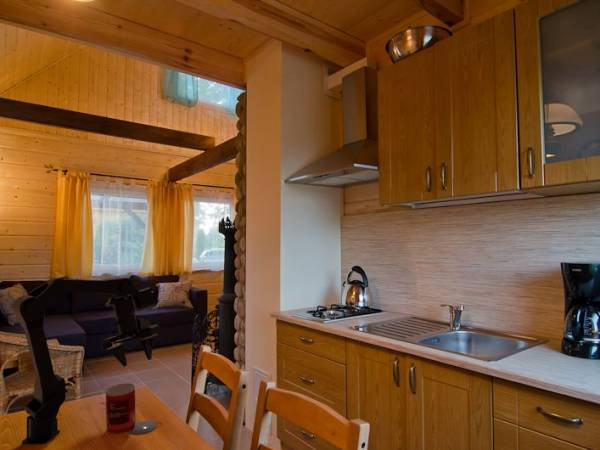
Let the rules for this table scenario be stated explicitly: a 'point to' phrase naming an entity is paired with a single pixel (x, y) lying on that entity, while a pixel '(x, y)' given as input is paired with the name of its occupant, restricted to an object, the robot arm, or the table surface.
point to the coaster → (143, 427)
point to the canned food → (120, 407)
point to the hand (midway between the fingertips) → (137, 363)
